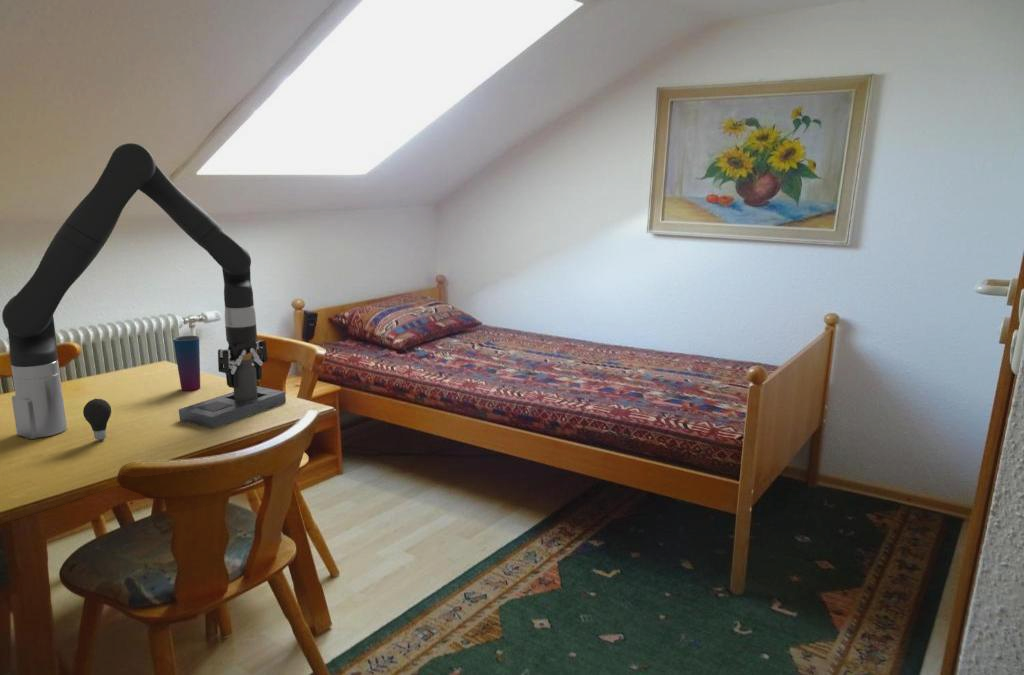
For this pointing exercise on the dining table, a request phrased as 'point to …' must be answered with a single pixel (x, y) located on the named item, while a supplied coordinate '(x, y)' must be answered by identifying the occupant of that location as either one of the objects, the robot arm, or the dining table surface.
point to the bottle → (245, 380)
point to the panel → (230, 408)
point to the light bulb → (97, 416)
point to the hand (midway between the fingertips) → (245, 383)
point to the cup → (188, 361)
